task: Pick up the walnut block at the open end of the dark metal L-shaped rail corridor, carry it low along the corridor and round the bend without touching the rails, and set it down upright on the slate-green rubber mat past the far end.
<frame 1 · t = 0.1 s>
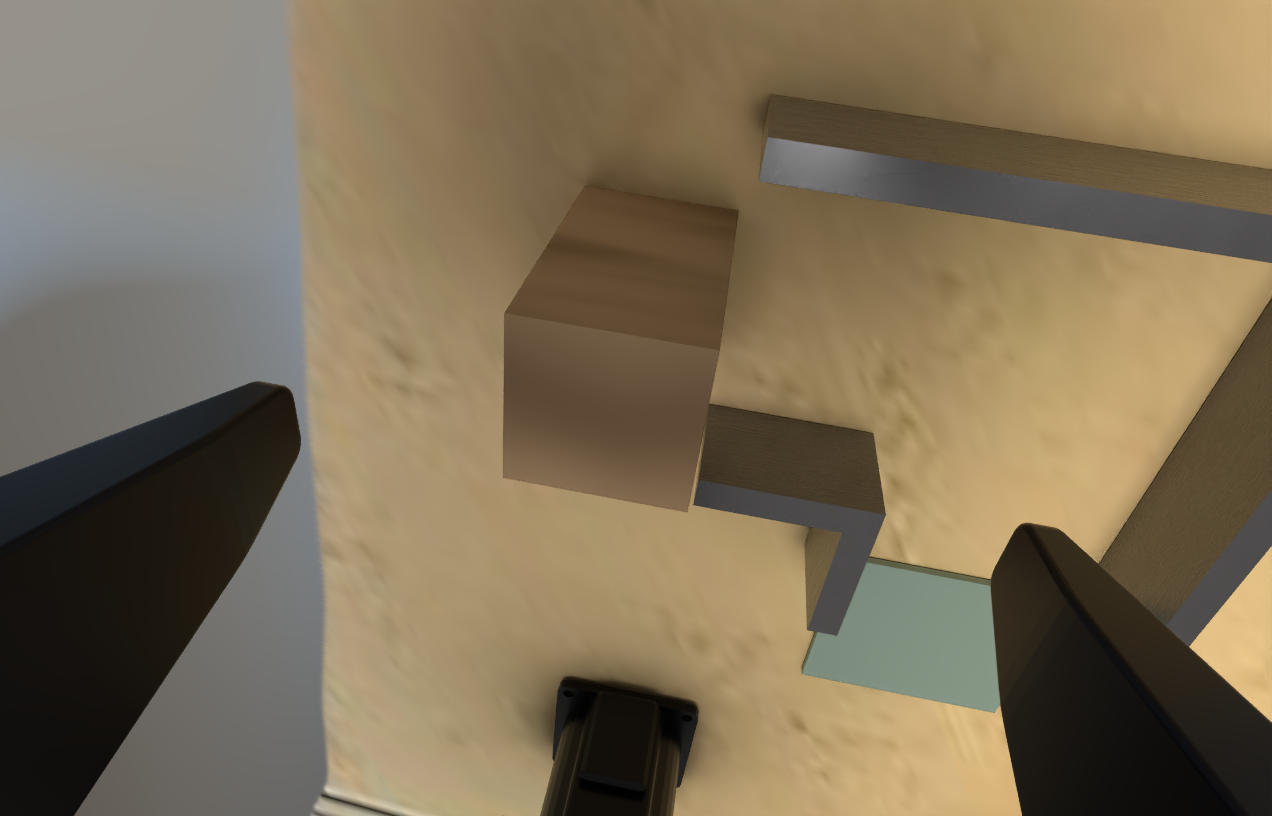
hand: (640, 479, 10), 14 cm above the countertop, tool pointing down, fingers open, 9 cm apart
walnut block: (652, 269, 24), on the countertop
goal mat: (923, 633, 31), on the countertop
bent rails: (1069, 340, 23), on the countertop
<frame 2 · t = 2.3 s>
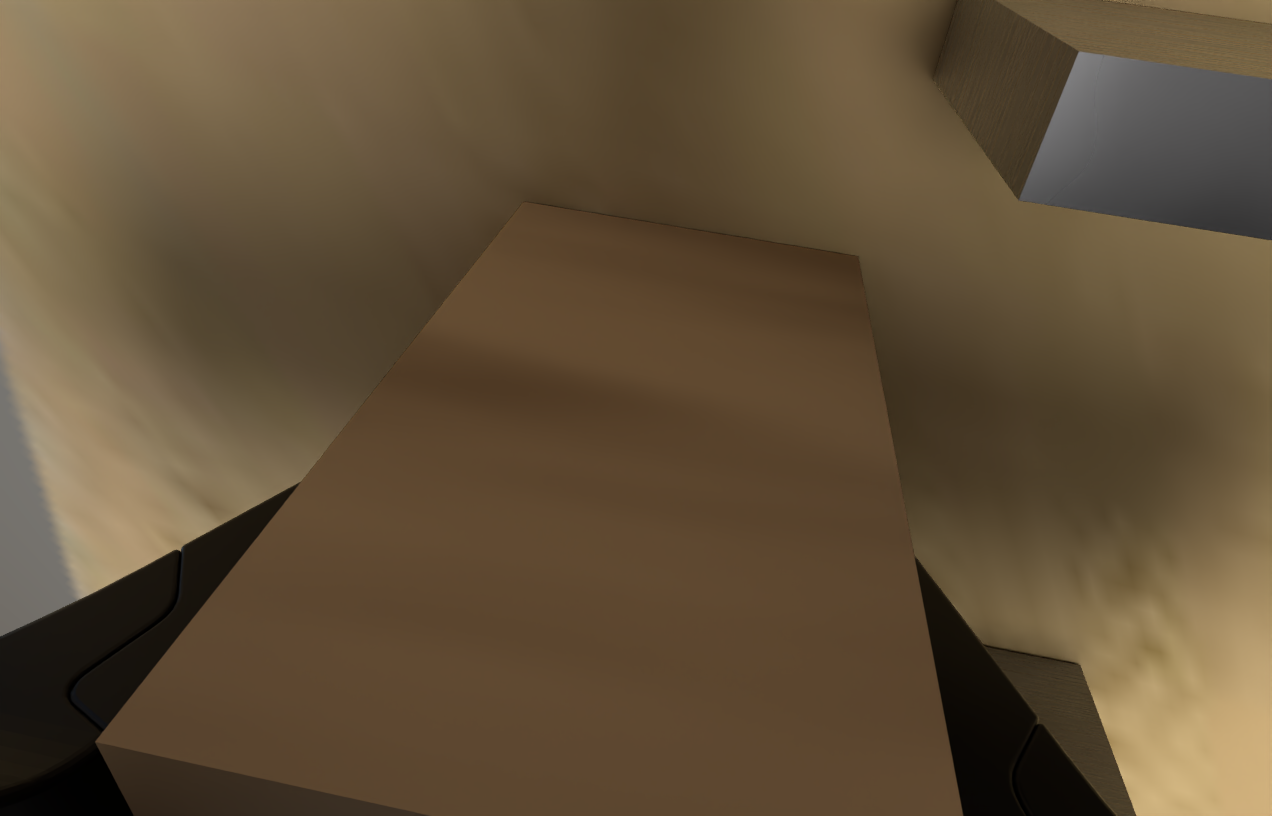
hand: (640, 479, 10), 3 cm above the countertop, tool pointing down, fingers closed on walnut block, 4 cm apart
walnut block: (666, 370, 12), on the countertop, touching gripper
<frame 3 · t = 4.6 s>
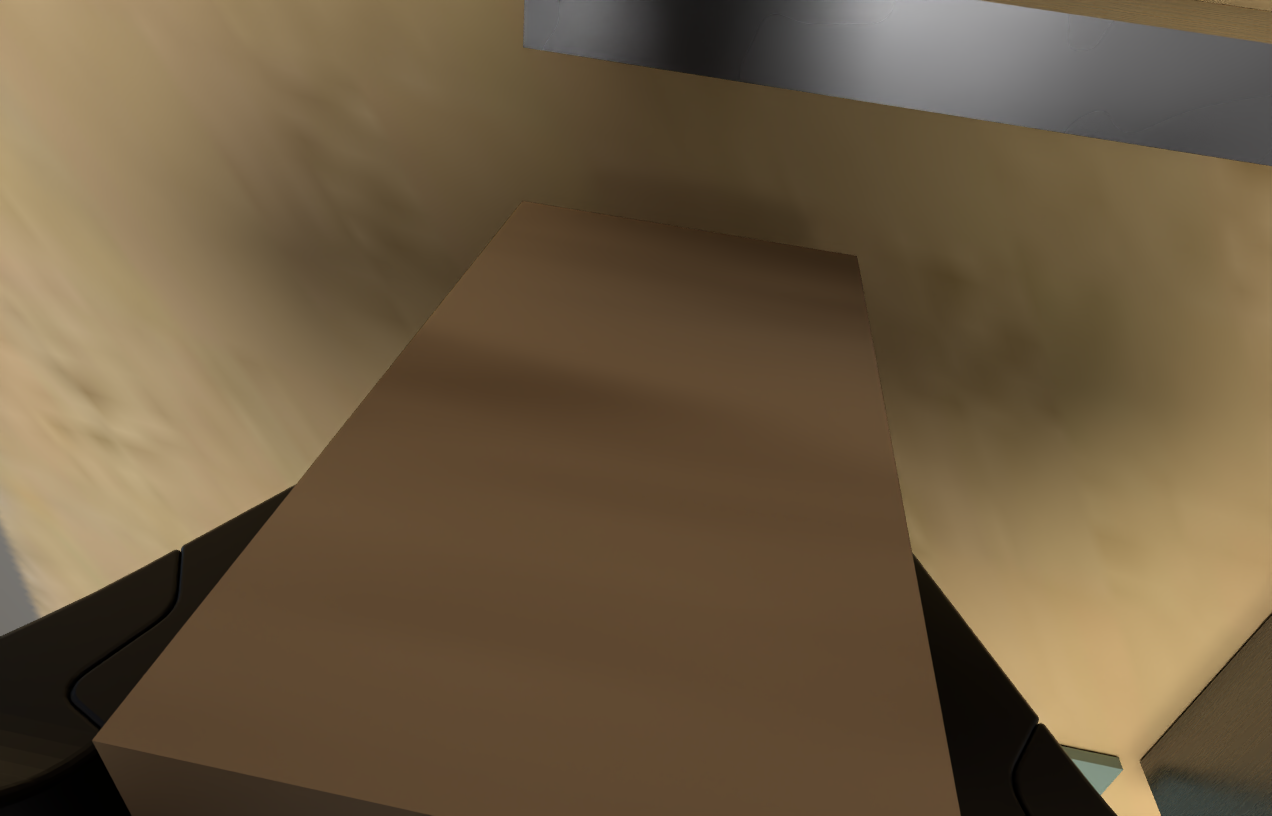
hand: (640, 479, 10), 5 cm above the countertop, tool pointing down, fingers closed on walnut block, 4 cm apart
walnut block: (665, 369, 12), point 2 cm above the countertop, touching gripper
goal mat: (905, 797, 21), on the countertop
bent rails: (1156, 382, 13), on the countertop
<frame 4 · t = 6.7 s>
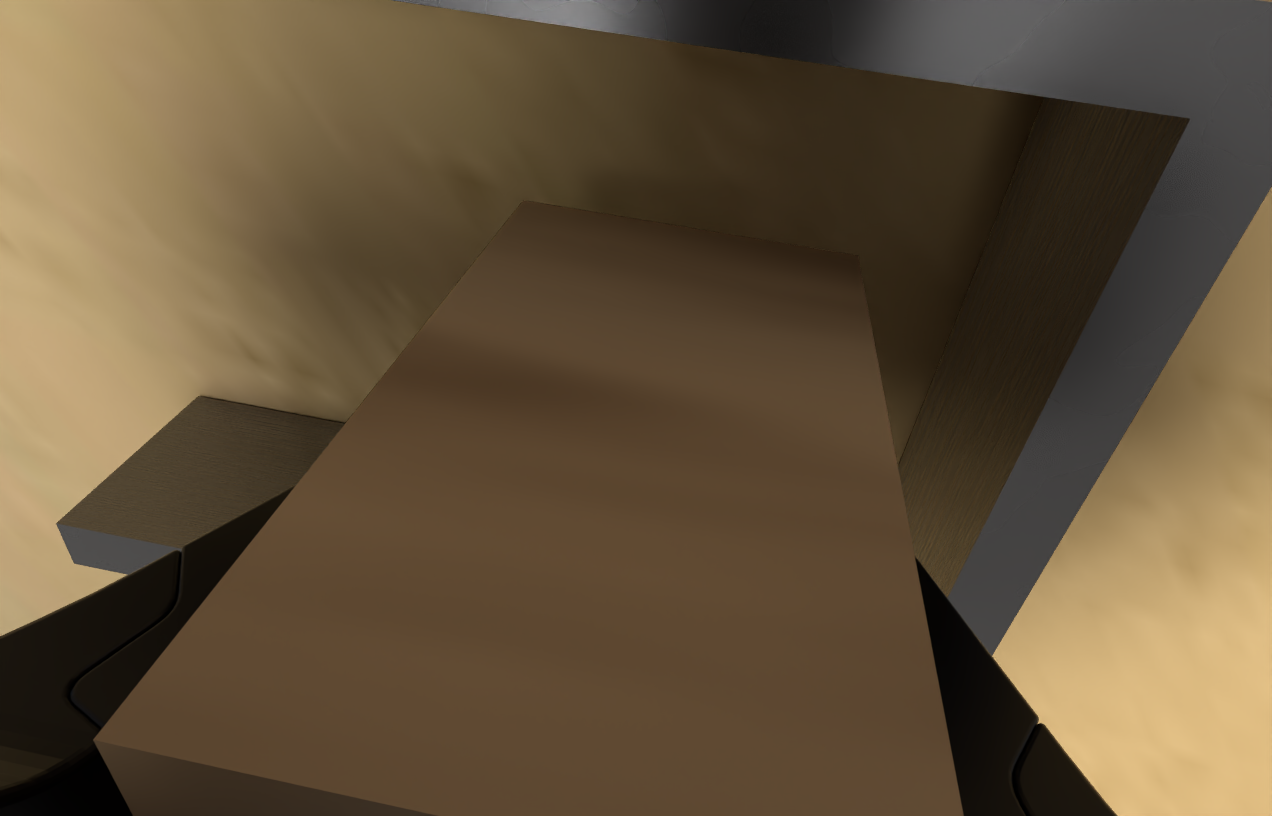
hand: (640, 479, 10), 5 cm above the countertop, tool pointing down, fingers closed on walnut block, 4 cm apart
walnut block: (666, 369, 12), point 2 cm above the countertop, touching gripper
bent rails: (688, 285, 13), on the countertop
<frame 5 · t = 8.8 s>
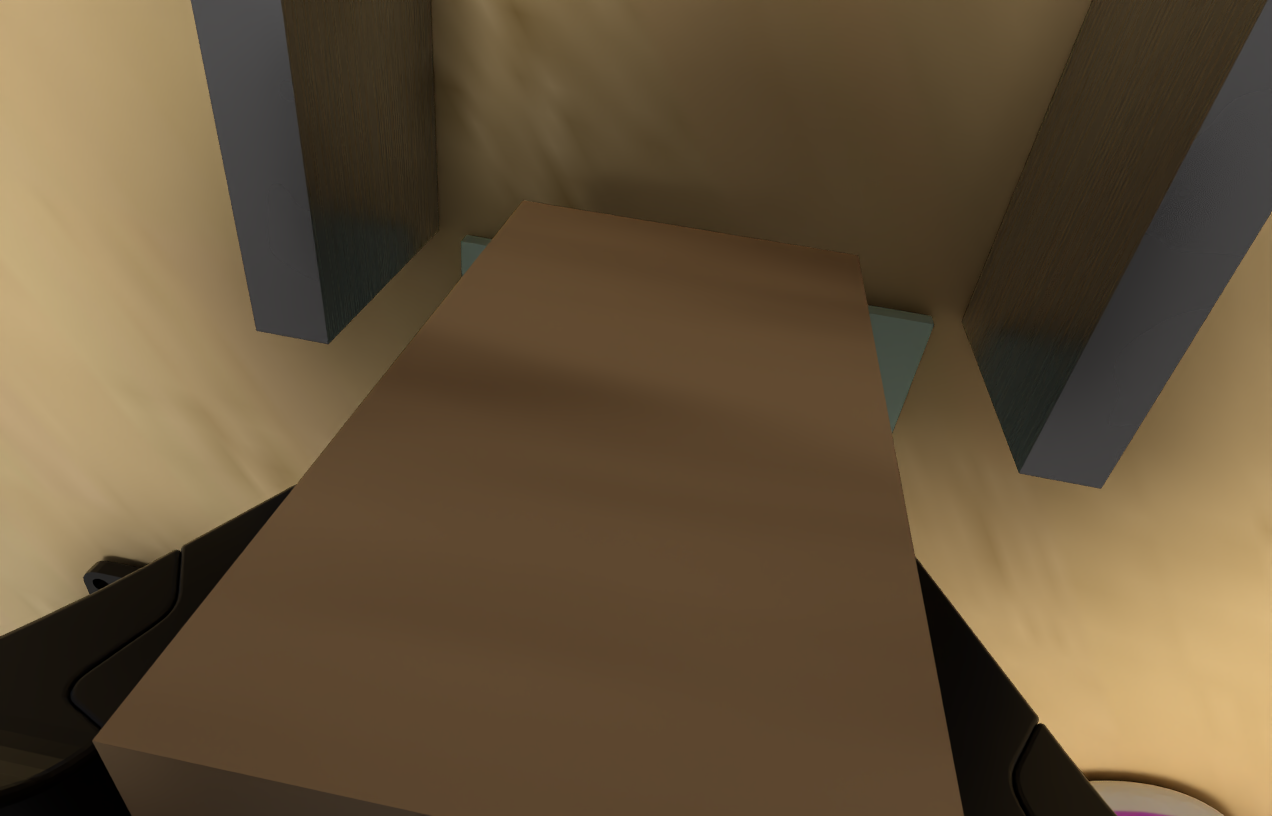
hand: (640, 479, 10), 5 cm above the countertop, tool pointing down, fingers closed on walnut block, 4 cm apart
walnut block: (666, 369, 12), point 2 cm above the countertop, touching gripper
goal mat: (666, 436, 15), on the countertop
when the fingers open (4 cm above the countertop, at t = 10.9 s): walnut block stays where it is, resting on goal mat.
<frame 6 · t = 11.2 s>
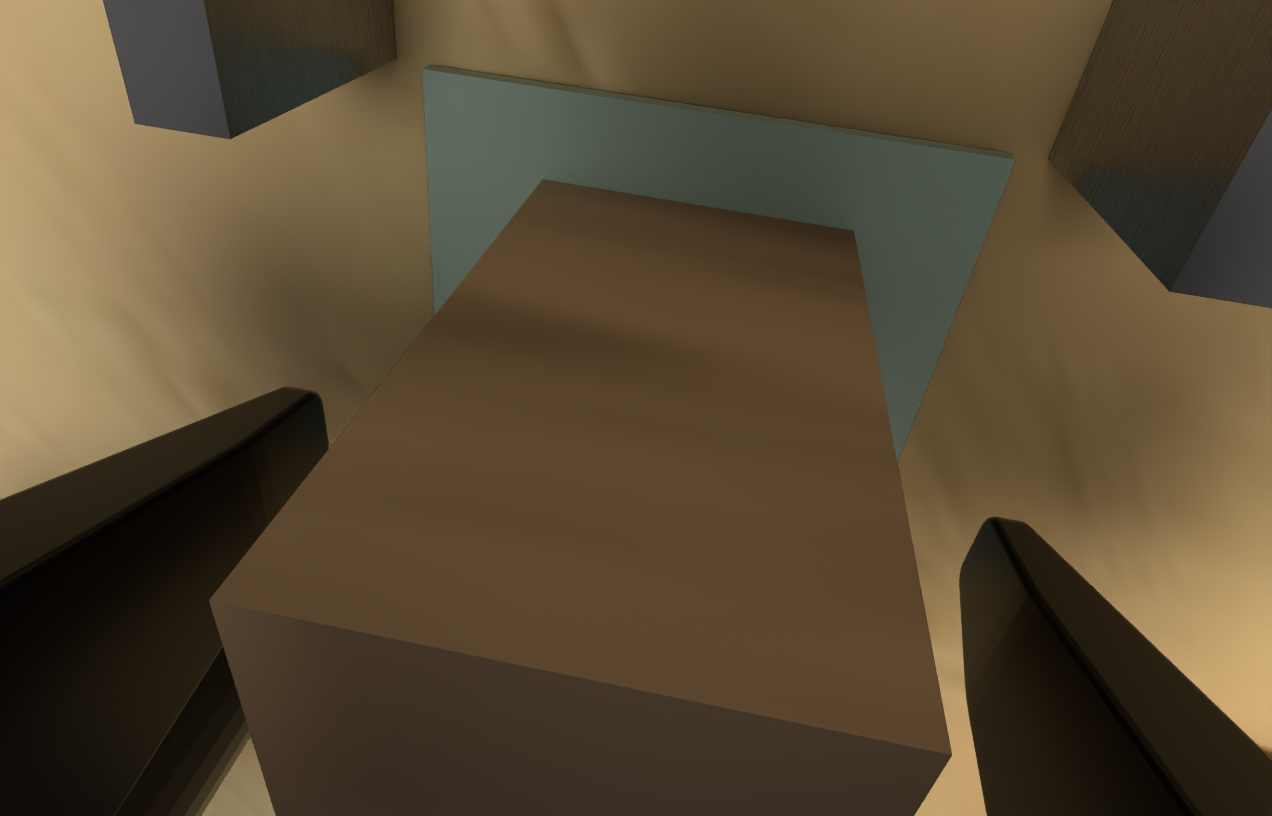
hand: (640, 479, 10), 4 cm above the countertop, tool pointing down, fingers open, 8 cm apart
walnut block: (674, 339, 12), resting on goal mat
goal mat: (677, 330, 13), on the countertop
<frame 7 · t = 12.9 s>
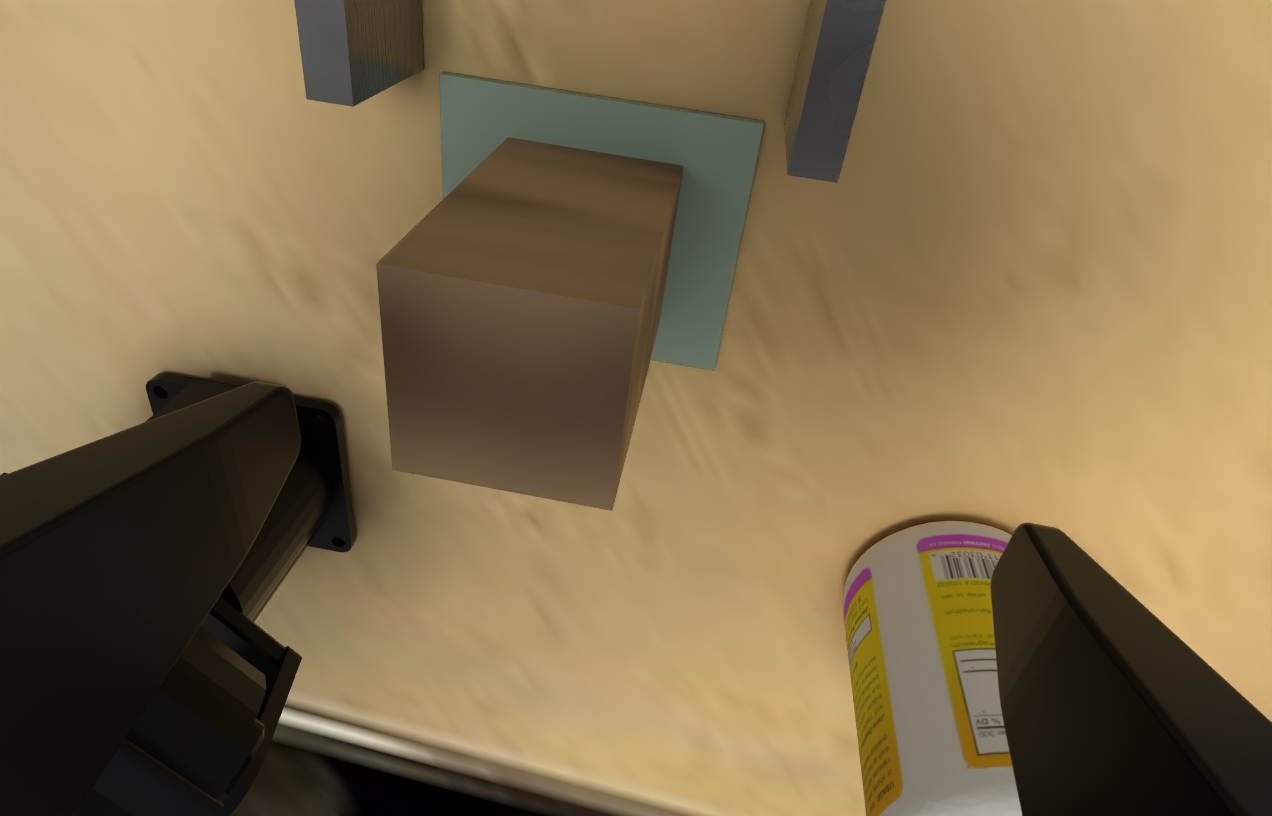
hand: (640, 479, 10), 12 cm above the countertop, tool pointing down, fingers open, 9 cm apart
walnut block: (587, 235, 21), resting on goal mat
supplement bottle: (941, 580, 27), on the countertop
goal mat: (590, 230, 21), on the countertop
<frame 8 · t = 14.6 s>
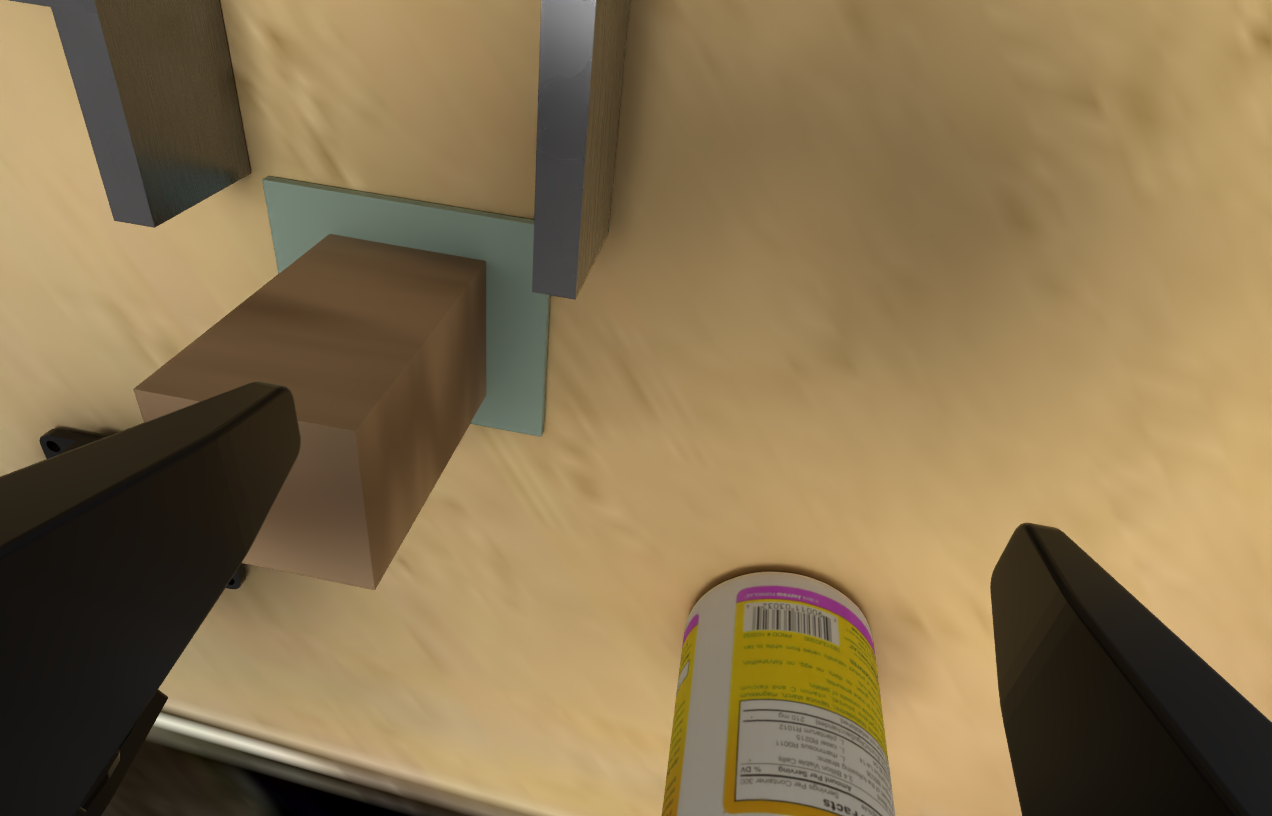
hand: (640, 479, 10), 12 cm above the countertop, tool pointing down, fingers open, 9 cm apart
walnut block: (411, 318, 23), resting on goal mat
supplement bottle: (778, 623, 28), on the countertop
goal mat: (416, 313, 23), on the countertop
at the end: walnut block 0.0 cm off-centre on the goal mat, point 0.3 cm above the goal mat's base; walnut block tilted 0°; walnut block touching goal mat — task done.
